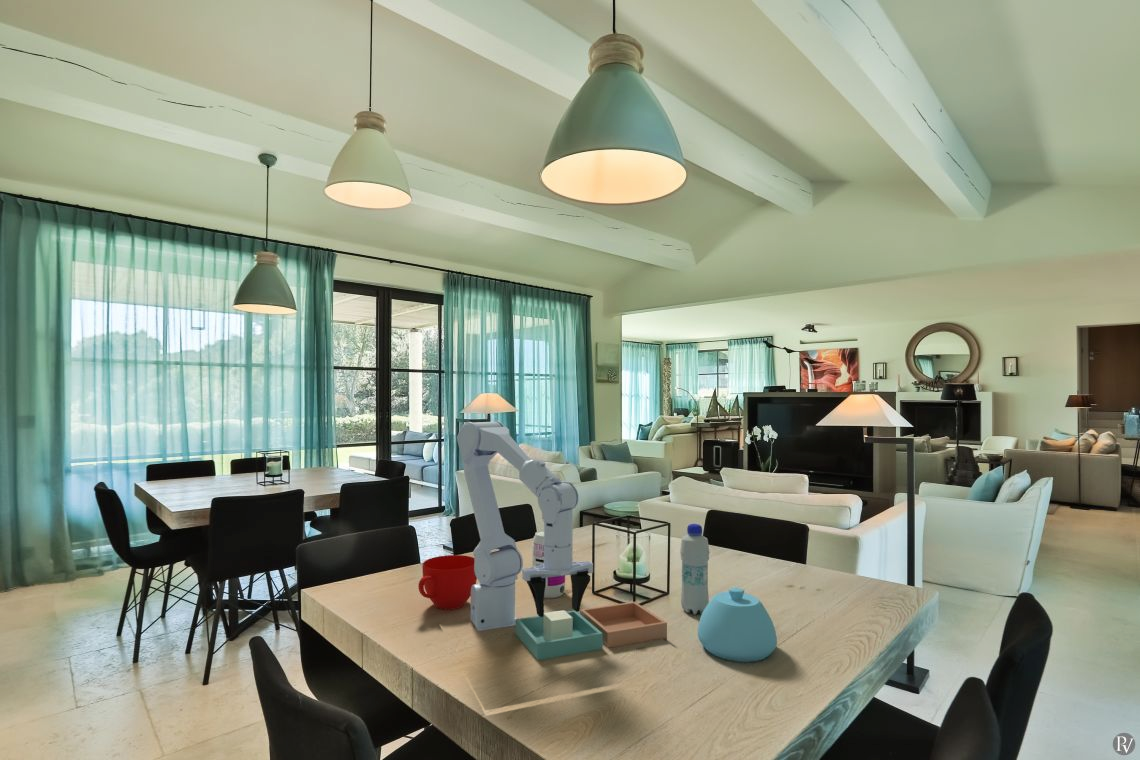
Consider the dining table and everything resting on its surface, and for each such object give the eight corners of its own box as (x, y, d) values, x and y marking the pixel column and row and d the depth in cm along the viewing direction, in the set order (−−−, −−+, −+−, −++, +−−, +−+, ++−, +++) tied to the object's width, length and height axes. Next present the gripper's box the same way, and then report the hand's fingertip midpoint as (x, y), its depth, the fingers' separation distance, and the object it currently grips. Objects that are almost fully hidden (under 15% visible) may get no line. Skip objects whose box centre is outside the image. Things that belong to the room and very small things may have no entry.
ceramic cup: (397, 614, 134) (398, 569, 134) (446, 592, 149) (446, 552, 149) (442, 624, 128) (443, 577, 128) (488, 601, 143) (488, 559, 143)
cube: (551, 646, 115) (551, 620, 115) (543, 638, 119) (543, 613, 119) (572, 643, 117) (572, 617, 117) (563, 634, 121) (564, 610, 121)
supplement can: (566, 588, 152) (566, 530, 152) (563, 599, 144) (563, 537, 144) (535, 587, 153) (535, 529, 153) (529, 598, 144) (530, 536, 145)
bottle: (710, 617, 132) (710, 527, 133) (679, 615, 134) (679, 526, 134) (709, 607, 139) (709, 521, 140) (680, 604, 140) (680, 520, 141)
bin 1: (537, 663, 109) (537, 644, 109) (515, 636, 122) (515, 619, 122) (602, 651, 114) (602, 633, 114) (575, 626, 127) (575, 610, 127)
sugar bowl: (760, 632, 124) (760, 577, 125) (789, 665, 109) (789, 601, 110) (689, 633, 124) (689, 577, 124) (709, 666, 109) (709, 602, 109)
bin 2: (607, 650, 115) (607, 632, 115) (580, 626, 127) (580, 609, 127) (666, 640, 120) (666, 622, 120) (634, 617, 132) (634, 601, 132)
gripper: (530, 552, 112) (530, 624, 112) (599, 545, 118) (599, 614, 117) (519, 543, 119) (518, 612, 118) (585, 537, 124) (585, 602, 124)
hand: (558, 612), depth 118 cm, fingers open, 7 cm apart
